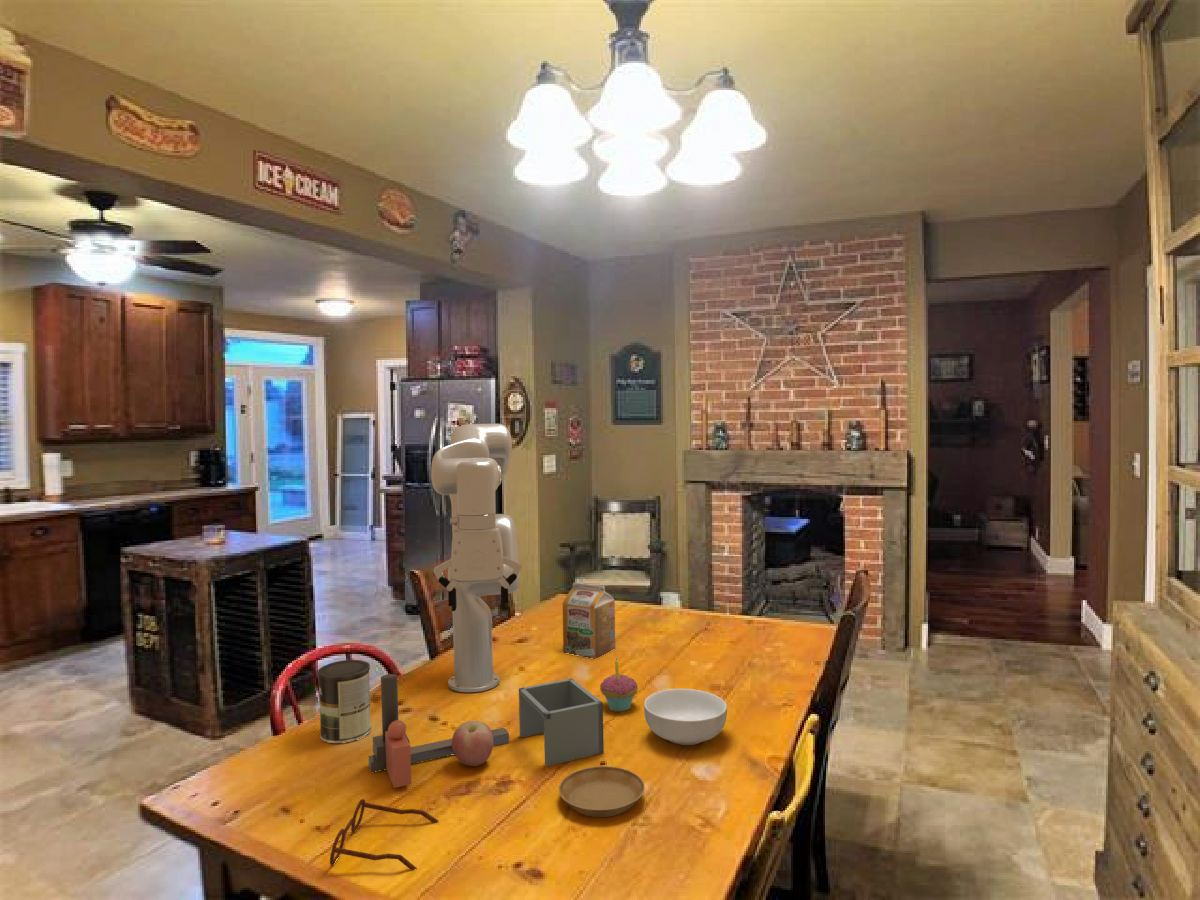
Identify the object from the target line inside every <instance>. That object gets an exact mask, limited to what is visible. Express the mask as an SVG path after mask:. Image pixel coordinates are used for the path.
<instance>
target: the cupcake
mask: <svg viewBox="0 0 1200 900" xmlns="http://www.w3.org/2000/svg"><path fill="white" fill-rule="evenodd" d="M614 662H615V664H614V665H615V666H614V667H615V674H613V675H610V676H608V677H606V678H604V679H603V680H602V682H600V684H599V685H600V688H599V691H600V692H601V694H602V695H603V696H604V697H605V699H606V702H607V705H608V708H609V710H610V711H613V710H614V711H613V712H624V711H628V710H629V709H630V708H631V704H632V701H633V698H634V697H635V695H636V694H637V693H638V683H637V681H636V680H634V678H632V677H630V676H628V675H625V674H620V672H619V660H618V659H617V657H615V661H614Z"/></svg>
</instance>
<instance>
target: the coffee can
mask: <svg viewBox="0 0 1200 900" xmlns="http://www.w3.org/2000/svg"><path fill="white" fill-rule="evenodd" d="M370 667H371V666H370V663H369V662H367V661H365V660H359V659H346V660H338V661H333V662H330V663H327V664H325V665H322V666H321V667H320V668H318V670H317V676H318V697H319V698H318V699H319V720H320V722H319V725H320V729H319V730H320V736H319V737H320V740H321V741H322V740H323V741H322V742H323V743H326V742H327V744H329V743H343V742H349V741H354V740H357V739H360V738H362V737H364V736H366V735H367V734H368V733H369V732H370V731H371V732H372V725H371V721H372V720H371V688H370V685H371V683H370V669H371V668H370ZM371 732H370V733H371ZM370 733H369V734H370ZM369 734H368V735H369ZM368 735H367V736H368ZM367 736H366V737H367ZM364 738H365V737H364ZM362 739H363V738H362ZM360 740H361V739H360ZM357 741H358V740H357ZM354 742H355V741H354Z"/></svg>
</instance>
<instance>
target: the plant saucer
mask: <svg viewBox="0 0 1200 900" xmlns="http://www.w3.org/2000/svg"><path fill="white" fill-rule="evenodd" d="M645 789H646V788H645V783H644V780H643V779H642V777H640V776H639V775H638V774H637V773H635V772H633V771H631V770H629V769H624V768H623V767H617V766H608V765H605V766H604V765H598V766H590V767H586V768H582V769H578V770H576V771H573V772H571V773H569V774H568V775H567V776H564V778H563V779H562V780H561V782H560V783H559V786H558V792H559V796H560V797H561V798H562V800H563V801H564V802H565V803H566V804H567V805H568V806H569V807H570V808H571V809H573V810H574V811H576V812H577V813H580V814H582V815H583V816H584V815H585V816H588V817H593V818H609V817H613V816H619V815H620V814H623V813H625V812H627V811H628V810H630V809H631V808H632V807H633V806H634V805H635V804H636V803H637V802H638V801H640V798H641V797H642V796H643V794H644V793H645Z"/></svg>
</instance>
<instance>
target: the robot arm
mask: <svg viewBox="0 0 1200 900" xmlns="http://www.w3.org/2000/svg"><path fill="white" fill-rule="evenodd" d="M449 443H450V444H448V445H446V446H444V447H442V448H440V449H439V450H437V451H436V452H435V453H434V455H433V458H432V460H431V461H432V462H431V471H430V473H431V474H430V476H431V484H432V487H433V490H434V491H435V492H436V493H437V494H439V495H441V496H442V495H443V496H449V499H450V503H451V517H450V518H449V525H451V526H452V527H451V529H452V539H451V554H450V558H449V559H448V560H446V561H445V562H442V563H441V564H439V565H437V566H435V567H434V568H433V575H435V577H436V579H437V580H438V582H439V584H440V585H441V586H443V587H444V588H445V589H446V591H447V594H448V595H447V597H448V607H451V611H452V635H453V637H452V639H453V640H452V641H453V673H454V674H453V676H451V677H450V678H449V679H448V682H447V685H448V688H449V689H450V690H452V691H455V692H459V693H478V692H485V691H487V690H491V689H494V688H496V686H498V685H499V684H500V681H501V680H500V676H499V674H498V673H495V672H494V663H493V661H494V657H493V656H494V653H493V652H494V651H493V621H492V617H493V616H492V610H491V608H490V607H489V605H488V604H487V603H486V602H485V600H483V599H482V597H483V596H484V597H485V596H494V595H496V596H497V595H500V605H501V606H500V608H501V609H503V610H504V609H506V604H509V594H511V593H515V592H516V591H518V589H519V587H520V581H521V579H520V578H521V573H520V572H521V570H522V567H523V566H522V564H521V563H520V561H519V560H520V559H519V547H518V536H517V535H518V533H517V527H516V523H515V521H514V518H512V516H511V515H508V514H504V513H496V491H497V489H498V487H499V486H500V485H501V484H502V477H505V476H506V475H507V474H508V471H509V468H510V462H511V457H512V451H513V450H512V449H513V448H512V447H513V441H512V436H511V432H510V431H509V429H508V428H507V426H505V425H504V424H503V423H470V424H469V423H467V424H463V425H460V426H457V427H456V428H455V429H454V430H453V432H452V433H451V436H450V442H449ZM447 569H448V570H447ZM446 570H447V577H446V576H445V575H444V573H443V572H444V571H446Z"/></svg>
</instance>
